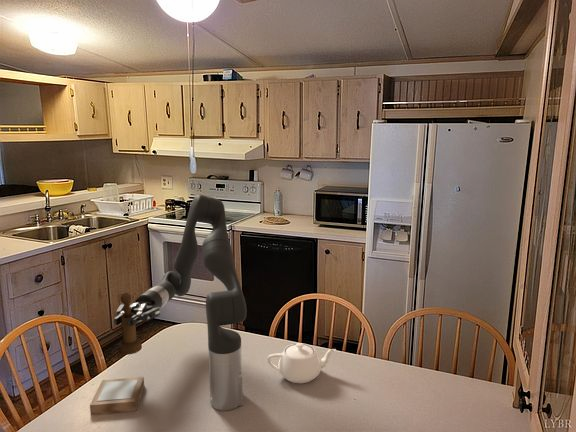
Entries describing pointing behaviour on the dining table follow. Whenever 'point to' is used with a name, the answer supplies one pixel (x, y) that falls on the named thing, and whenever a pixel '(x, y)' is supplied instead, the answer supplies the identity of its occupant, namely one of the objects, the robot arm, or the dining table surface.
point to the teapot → (300, 362)
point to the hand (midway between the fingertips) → (122, 322)
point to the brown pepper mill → (128, 330)
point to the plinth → (117, 396)
